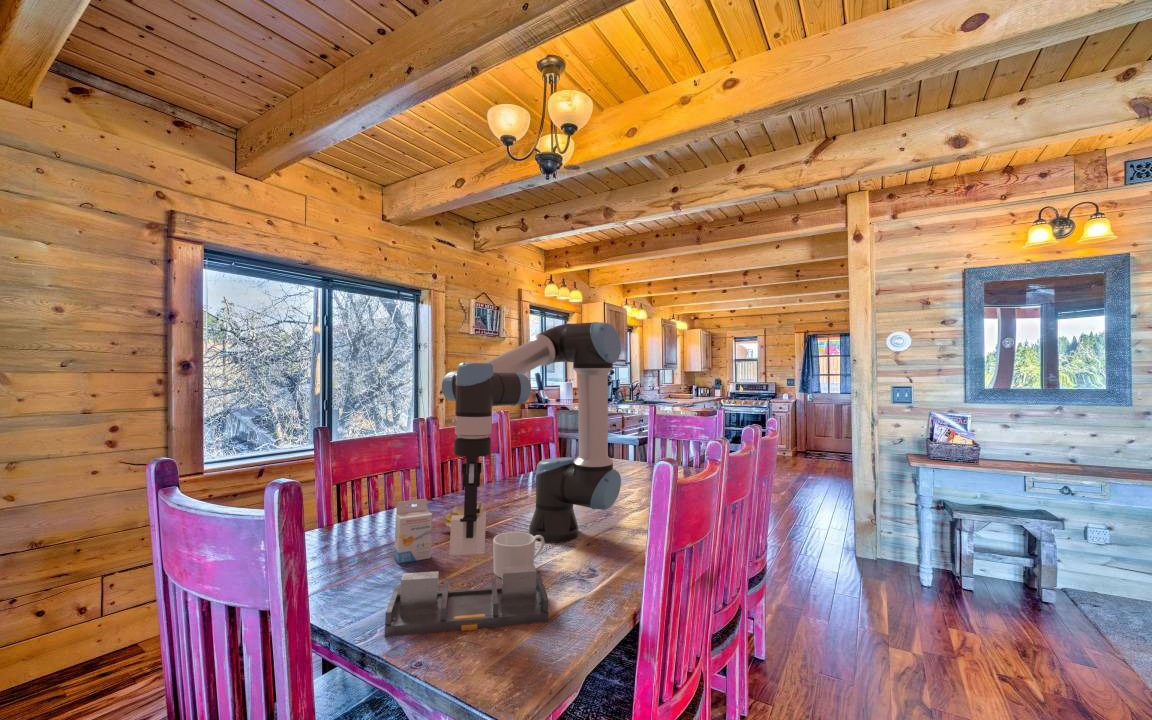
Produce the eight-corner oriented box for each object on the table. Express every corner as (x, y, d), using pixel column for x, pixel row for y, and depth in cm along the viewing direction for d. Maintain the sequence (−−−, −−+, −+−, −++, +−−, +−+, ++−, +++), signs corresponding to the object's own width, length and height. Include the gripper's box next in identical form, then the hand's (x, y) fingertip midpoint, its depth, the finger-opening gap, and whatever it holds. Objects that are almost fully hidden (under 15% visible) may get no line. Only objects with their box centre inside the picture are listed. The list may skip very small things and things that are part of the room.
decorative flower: (429, 522, 151) (438, 490, 152) (461, 524, 158) (469, 494, 159) (451, 539, 140) (460, 505, 141) (484, 540, 147) (492, 507, 148)
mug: (500, 583, 113) (501, 549, 113) (486, 566, 122) (487, 535, 123) (552, 573, 119) (552, 540, 119) (535, 558, 129) (536, 528, 129)
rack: (539, 592, 109) (540, 556, 109) (548, 623, 96) (549, 582, 96) (395, 603, 102) (396, 564, 103) (383, 638, 89) (385, 593, 89)
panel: (484, 548, 102) (485, 515, 102) (484, 553, 99) (485, 519, 99) (450, 549, 101) (452, 515, 101) (449, 554, 98) (451, 520, 98)
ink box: (398, 564, 122) (400, 506, 123) (393, 558, 127) (395, 502, 127) (431, 558, 127) (433, 502, 127) (426, 552, 131) (427, 497, 132)
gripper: (456, 431, 108) (452, 536, 107) (452, 441, 92) (448, 565, 91) (490, 431, 109) (486, 535, 109) (492, 441, 93) (488, 563, 93)
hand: (469, 548), depth 100 cm, fingers closed on panel, 3 cm apart
